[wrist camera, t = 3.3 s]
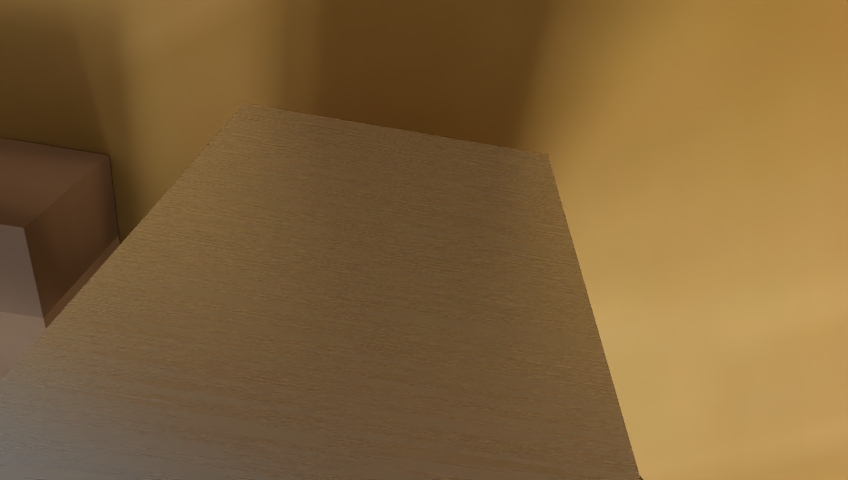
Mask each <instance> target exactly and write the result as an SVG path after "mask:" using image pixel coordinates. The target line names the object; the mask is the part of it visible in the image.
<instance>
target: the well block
mask: <svg viewBox="0 0 848 480" xmlns="http://www.w3.org/2000/svg"><path fill="white" fill-rule="evenodd" d="M119 245H120V241H119V233H118V225H117V217H116V209H115V201H114V193H113V185H112V177H111V169H110V161H109V155H104V154H97V153H91V152H85V151H79V150H73V149H67V148H61V147H55V146H49V145H42V144H36V143H30V142H24V141H18V140H12V139H6V138H0V381H1V380H2V379H3V377H4V376H5V375H6V374H7V373H8V372H9V371H10V369H11V368H12V367H13V366H14V365H15V364H16V363H17V362H18V360H19V359H20V358H21V357H22V356H23V355H24V354H25V352H26V351H27V350H28V349H29V348H30V347H31V346H32V344H33V343H34V342H35V341H36V340H37V339H38V338H39V336H40V335H41V334H42V333H43V332H44V331H45V330H46V329H47V327H48V326H49V325H50V324H51V323H52V322H53V321H54V319H55V318H56V317H57V316H58V315H59V314H60V313H61V311H62V310H63V309H64V308H65V307H66V306H67V305H68V303H69V302H70V301H71V300H72V299H73V298H74V297H75V296H76V294H77V293H78V292H79V291H80V290H81V289H82V288H83V286H84V285H85V284H86V283H87V282H88V281H89V280H90V278H91V277H92V276H93V275H94V274H95V273H96V272H97V270H98V269H99V268H100V267H101V266H102V265H103V264H104V262H105V261H106V260H107V259H108V258H109V257H110V256H111V255H112V253H113V252H114V251H115V250H116V249H117V248H118V247H119Z"/></svg>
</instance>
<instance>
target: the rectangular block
mask: <svg viewBox="0 0 848 480" xmlns="http://www.w3.org/2000/svg"><path fill="white" fill-rule="evenodd" d="M0 480H641V479H640V475H639V472H638V468H637V465H636V461H635V458H634V454H633V451H632V447H631V444H630V440H629V437H628V433H627V430H626V426H625V423H624V419H623V416H622V412H621V409H620V405H619V402H618V398H617V395H616V391H615V388H614V384H613V381H612V377H611V374H610V371H609V367H608V364H607V360H606V357H605V353H604V350H603V346H602V343H601V339H600V336H599V332H598V329H597V325H596V322H595V318H594V315H593V311H592V308H591V304H590V301H589V297H588V294H587V290H586V287H585V283H584V280H583V276H582V273H581V269H580V266H579V262H578V259H577V255H576V252H575V248H574V245H573V241H572V238H571V234H570V231H569V227H568V224H567V220H566V217H565V213H564V210H563V206H562V203H561V199H560V196H559V192H558V189H557V185H556V182H555V178H554V175H553V172H552V168H551V165H550V161H549V158H548V154H542V153H536V152H530V151H524V150H518V149H512V148H507V147H501V146H495V145H489V144H483V143H477V142H471V141H465V140H459V139H453V138H448V137H442V136H436V135H430V134H424V133H418V132H412V131H406V130H400V129H394V128H389V127H383V126H377V125H371V124H365V123H359V122H353V121H347V120H341V119H335V118H330V117H324V116H318V115H312V114H306V113H300V112H294V111H288V110H282V109H276V108H271V107H265V106H259V105H253V104H247V103H244V104H243V105H242V107H241V108H240V109H239V110H238V111H237V112H236V113H235V115H234V116H233V117H232V118H231V119H230V120H229V121H228V122H227V124H226V125H225V126H224V127H223V128H222V129H221V130H220V132H219V133H218V134H217V135H216V136H215V137H214V138H213V140H212V141H211V142H210V143H209V144H208V145H207V146H206V148H205V149H204V150H203V151H202V152H201V153H200V154H199V155H198V157H197V158H196V159H195V160H194V161H193V162H192V163H191V165H190V166H189V167H188V168H187V169H186V170H185V171H184V173H183V174H182V175H181V176H180V177H179V178H178V179H177V181H176V182H175V183H174V184H173V185H172V186H171V187H170V188H169V190H168V191H167V192H166V193H165V194H164V195H163V196H162V198H161V199H160V200H159V201H158V202H157V203H156V204H155V206H154V207H153V208H152V209H151V210H150V211H149V212H148V214H147V215H146V216H145V217H144V218H143V219H142V220H141V222H140V223H139V224H138V225H137V226H136V227H135V228H134V229H133V231H132V232H131V233H130V234H129V235H128V236H127V237H126V239H125V240H124V241H123V242H122V243H121V244H120V245H119V247H118V248H117V249H116V250H115V251H114V252H113V253H112V255H111V256H110V257H109V258H108V259H107V260H106V261H105V262H104V264H103V265H102V266H101V267H100V268H99V269H98V270H97V272H96V273H95V274H94V275H93V276H92V277H91V278H90V280H89V281H88V282H87V283H86V284H85V285H84V286H83V288H82V289H81V290H80V291H79V292H78V293H77V294H76V296H75V297H74V298H73V299H72V300H71V301H70V302H69V303H68V305H67V306H66V307H65V308H64V309H63V310H62V311H61V313H60V314H59V315H58V316H57V317H56V318H55V319H54V321H53V322H52V323H51V324H50V325H49V326H48V327H47V329H46V330H45V331H44V332H43V333H42V334H41V335H40V336H39V338H38V339H37V340H36V341H35V342H34V343H33V344H32V346H31V347H30V348H29V349H28V350H27V351H26V352H25V354H24V355H23V356H22V357H21V358H20V359H19V360H18V362H17V363H16V364H15V365H14V366H13V367H12V368H11V369H10V371H9V372H8V373H7V374H6V375H5V376H4V377H3V379H2V380H1V381H0Z"/></svg>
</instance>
